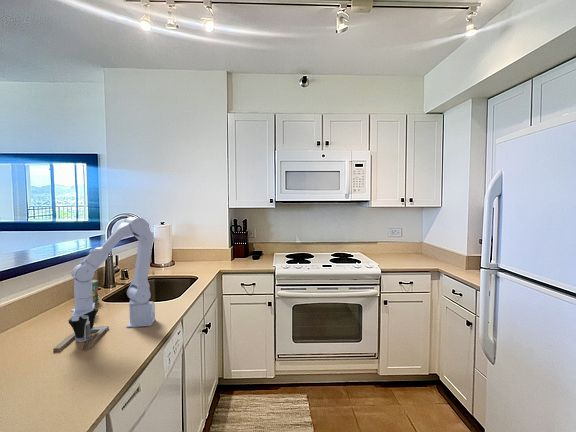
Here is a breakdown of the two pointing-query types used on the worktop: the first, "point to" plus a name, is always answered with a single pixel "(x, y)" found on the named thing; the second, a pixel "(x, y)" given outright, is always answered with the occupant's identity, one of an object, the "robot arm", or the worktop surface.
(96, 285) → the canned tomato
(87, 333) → the pill bottle
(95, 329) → the panel
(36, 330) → the worktop surface
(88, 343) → the guide channel
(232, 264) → the worktop surface
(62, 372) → the worktop surface
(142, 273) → the robot arm
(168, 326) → the worktop surface
